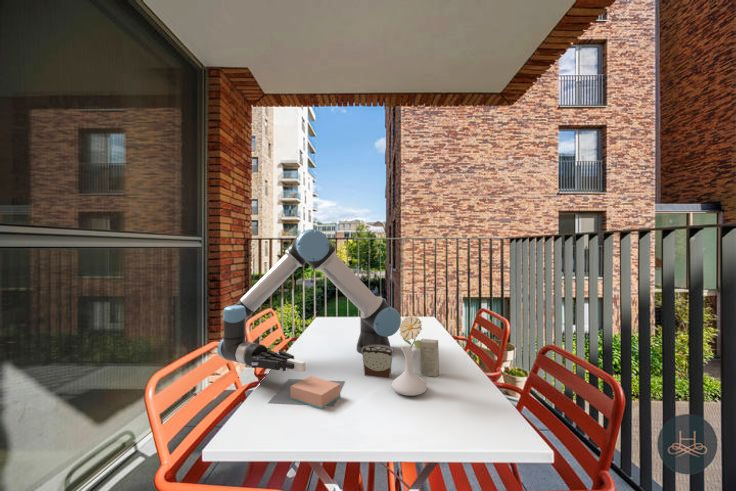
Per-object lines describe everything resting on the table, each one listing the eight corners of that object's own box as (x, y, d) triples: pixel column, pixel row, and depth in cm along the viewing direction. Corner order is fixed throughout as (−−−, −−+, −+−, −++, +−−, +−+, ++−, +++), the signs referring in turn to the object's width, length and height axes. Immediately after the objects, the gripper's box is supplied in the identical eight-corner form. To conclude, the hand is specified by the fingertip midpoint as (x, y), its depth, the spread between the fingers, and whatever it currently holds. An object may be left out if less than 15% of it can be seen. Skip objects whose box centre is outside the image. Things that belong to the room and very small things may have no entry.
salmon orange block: (290, 386, 101) (321, 395, 95) (310, 376, 109) (340, 383, 102) (290, 399, 101) (321, 409, 95) (310, 388, 109) (340, 397, 102)
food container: (398, 373, 123) (397, 345, 123) (393, 379, 117) (393, 351, 117) (366, 369, 127) (366, 342, 127) (360, 375, 121) (360, 347, 121)
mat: (345, 383, 114) (345, 381, 114) (333, 408, 96) (333, 406, 96) (288, 380, 117) (288, 378, 117) (267, 405, 99) (267, 403, 99)
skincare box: (439, 373, 123) (439, 339, 123) (436, 377, 119) (436, 343, 119) (422, 370, 125) (422, 338, 125) (419, 374, 121) (418, 341, 121)
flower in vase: (385, 387, 111) (384, 311, 111) (415, 381, 115) (414, 309, 115) (404, 404, 99) (404, 319, 99) (437, 397, 103) (436, 316, 103)
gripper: (267, 359, 121) (317, 372, 109) (236, 371, 110) (288, 387, 98) (267, 339, 121) (317, 349, 109) (236, 348, 110) (288, 361, 98)
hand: (303, 367), depth 104 cm, fingers closed
